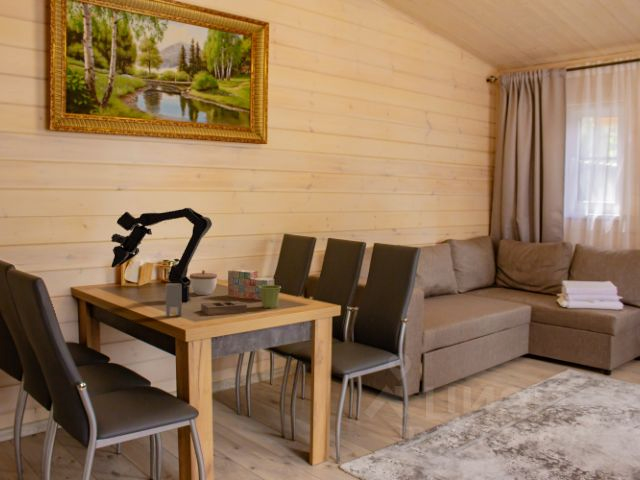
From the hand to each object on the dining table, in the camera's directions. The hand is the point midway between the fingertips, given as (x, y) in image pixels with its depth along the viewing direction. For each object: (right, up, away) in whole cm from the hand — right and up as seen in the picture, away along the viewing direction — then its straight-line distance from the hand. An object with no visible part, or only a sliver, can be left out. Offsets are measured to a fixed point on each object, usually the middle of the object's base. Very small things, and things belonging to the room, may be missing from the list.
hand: (115, 265), depth 284 cm
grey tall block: (+33, -18, -34) cm, 51 cm away
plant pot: (+69, -17, -11) cm, 72 cm away
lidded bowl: (+35, -14, +18) cm, 42 cm away
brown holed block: (+51, -18, -23) cm, 59 cm away
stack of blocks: (+58, -15, +11) cm, 61 cm away
